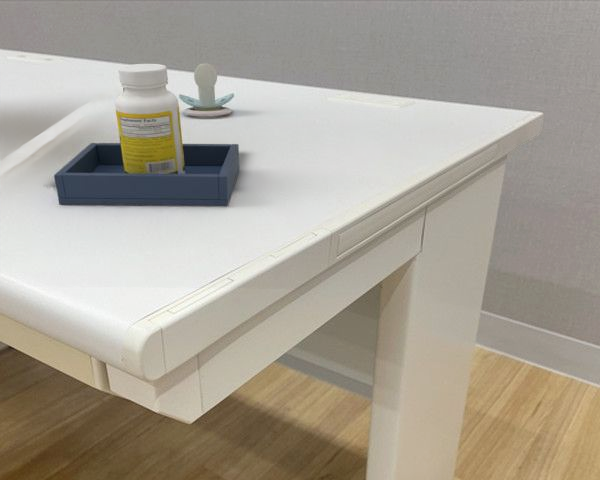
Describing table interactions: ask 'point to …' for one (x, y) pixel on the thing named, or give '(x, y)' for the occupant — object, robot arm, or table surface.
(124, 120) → the supplement bottle
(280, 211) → the table surface
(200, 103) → the pacifier
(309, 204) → the table surface
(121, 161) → the tray
